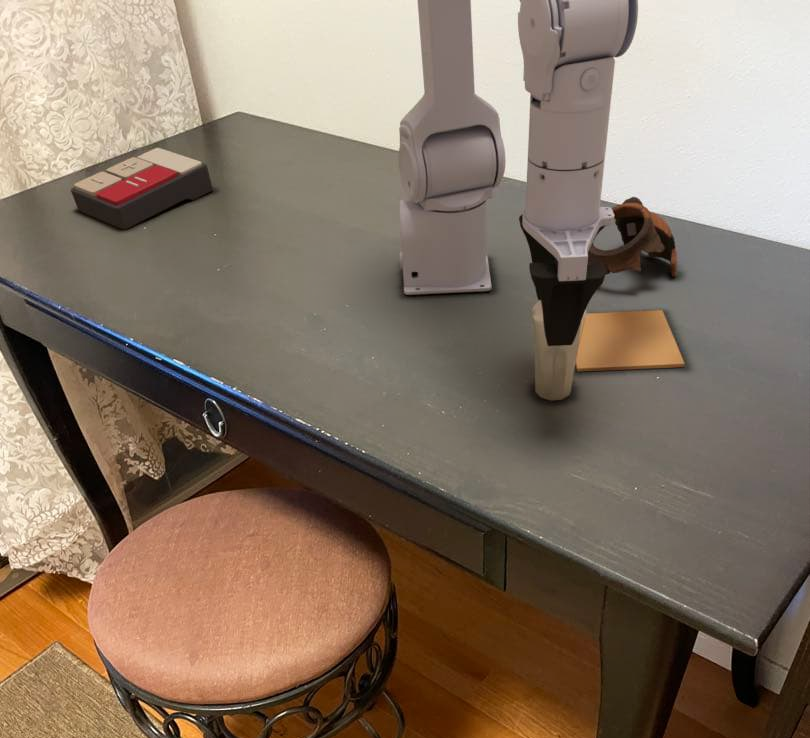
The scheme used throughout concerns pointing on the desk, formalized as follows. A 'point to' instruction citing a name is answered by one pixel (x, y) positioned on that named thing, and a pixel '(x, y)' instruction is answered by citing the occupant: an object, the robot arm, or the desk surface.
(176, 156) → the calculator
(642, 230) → the broken clay pot
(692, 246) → the desk surface
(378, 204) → the desk surface
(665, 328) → the coaster
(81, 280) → the desk surface
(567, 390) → the milkshake
